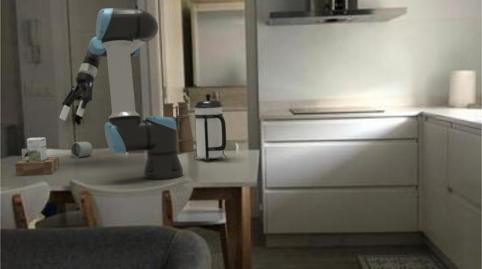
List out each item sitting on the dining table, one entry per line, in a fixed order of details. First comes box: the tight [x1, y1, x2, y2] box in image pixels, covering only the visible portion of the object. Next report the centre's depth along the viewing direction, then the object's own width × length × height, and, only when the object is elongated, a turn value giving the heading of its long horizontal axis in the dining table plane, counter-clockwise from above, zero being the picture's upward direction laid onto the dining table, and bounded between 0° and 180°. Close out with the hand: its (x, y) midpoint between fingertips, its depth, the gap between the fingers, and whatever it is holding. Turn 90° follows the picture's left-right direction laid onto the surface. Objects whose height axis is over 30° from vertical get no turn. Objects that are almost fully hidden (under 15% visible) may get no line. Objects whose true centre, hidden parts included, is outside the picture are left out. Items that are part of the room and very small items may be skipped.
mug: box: [21, 147, 28, 160], centre depth 253 cm, size 10×7×7 cm, turn 129°
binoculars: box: [162, 101, 195, 155], centre depth 270 cm, size 21×10×25 cm, turn 145°
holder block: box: [14, 156, 60, 177], centre depth 227 cm, size 14×14×5 cm
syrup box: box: [26, 136, 48, 162], centre depth 227 cm, size 6×6×14 cm
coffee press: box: [193, 93, 227, 163], centre depth 243 cm, size 17×16×30 cm
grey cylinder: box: [70, 141, 93, 159], centre depth 268 cm, size 11×8×8 cm
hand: (70, 117), depth 235 cm, fingers open, 13 cm apart
